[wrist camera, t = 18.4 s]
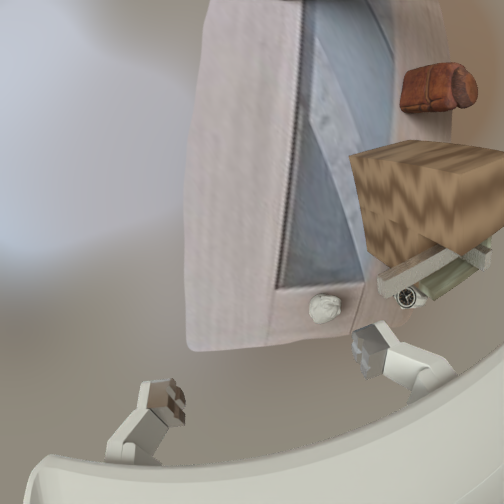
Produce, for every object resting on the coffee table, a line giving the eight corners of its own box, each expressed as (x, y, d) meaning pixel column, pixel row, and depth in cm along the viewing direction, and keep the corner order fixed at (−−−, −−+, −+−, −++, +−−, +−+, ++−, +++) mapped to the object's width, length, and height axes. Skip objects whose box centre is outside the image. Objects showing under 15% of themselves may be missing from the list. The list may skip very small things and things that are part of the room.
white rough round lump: (337, 290, 55) (352, 307, 49) (319, 316, 57) (331, 335, 51) (316, 279, 53) (330, 297, 47) (297, 307, 55) (308, 327, 49)
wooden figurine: (416, 122, 45) (481, 125, 28) (395, 108, 43) (461, 104, 27) (424, 78, 41) (485, 71, 25) (403, 63, 40) (465, 49, 23)
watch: (383, 267, 56) (413, 290, 45) (407, 269, 57) (437, 290, 47) (376, 289, 57) (403, 315, 47) (400, 290, 59) (427, 313, 49)
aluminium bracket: (376, 275, 35) (411, 304, 27) (457, 232, 35) (492, 249, 28) (378, 292, 36) (410, 322, 29) (457, 248, 37) (490, 266, 29)
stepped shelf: (348, 155, 45) (460, 174, 21) (409, 139, 46) (513, 153, 22) (367, 251, 53) (454, 317, 29) (421, 226, 54) (508, 272, 30)
